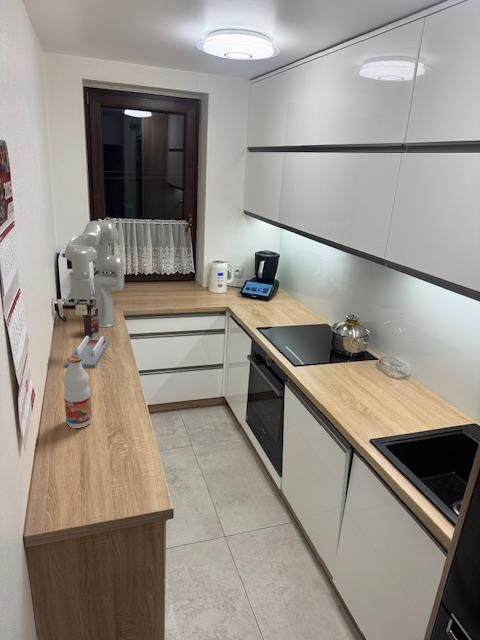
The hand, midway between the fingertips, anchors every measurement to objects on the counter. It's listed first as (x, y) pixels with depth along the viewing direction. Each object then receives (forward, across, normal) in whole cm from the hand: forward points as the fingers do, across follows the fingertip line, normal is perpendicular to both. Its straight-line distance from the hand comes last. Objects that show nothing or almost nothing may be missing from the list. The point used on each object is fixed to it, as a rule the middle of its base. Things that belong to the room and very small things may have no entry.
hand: (83, 311), depth 214 cm
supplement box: (+26, -5, +29) cm, 39 cm away
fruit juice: (+25, +13, -57) cm, 64 cm away
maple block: (0, 0, -2) cm, 2 cm away
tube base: (+25, 0, +4) cm, 26 cm away
